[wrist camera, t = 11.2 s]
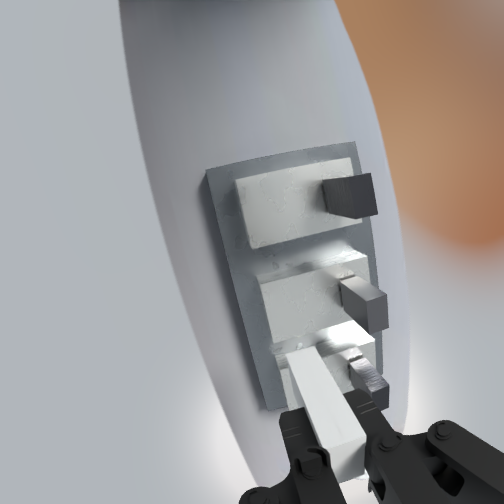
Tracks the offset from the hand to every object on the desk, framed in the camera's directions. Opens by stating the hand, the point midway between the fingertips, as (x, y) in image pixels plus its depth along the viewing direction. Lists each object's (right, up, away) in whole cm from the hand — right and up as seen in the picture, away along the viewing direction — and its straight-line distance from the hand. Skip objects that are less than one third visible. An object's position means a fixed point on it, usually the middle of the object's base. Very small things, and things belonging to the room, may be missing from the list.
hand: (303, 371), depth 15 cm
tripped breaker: (+5, +3, +9) cm, 11 cm away
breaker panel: (+2, +3, +14) cm, 14 cm away
